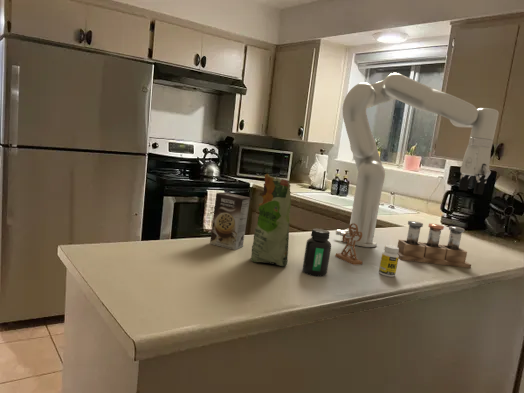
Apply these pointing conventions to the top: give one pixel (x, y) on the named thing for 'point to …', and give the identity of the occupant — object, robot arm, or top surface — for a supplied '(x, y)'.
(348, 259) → the tan toy soldier
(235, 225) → the coffee box
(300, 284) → the top surface
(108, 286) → the top surface
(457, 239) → the plug
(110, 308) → the top surface
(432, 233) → the plug mid
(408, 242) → the plug
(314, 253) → the supplement bottle
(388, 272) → the supplement bottle
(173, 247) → the top surface
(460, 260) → the socket board
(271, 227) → the pouch
